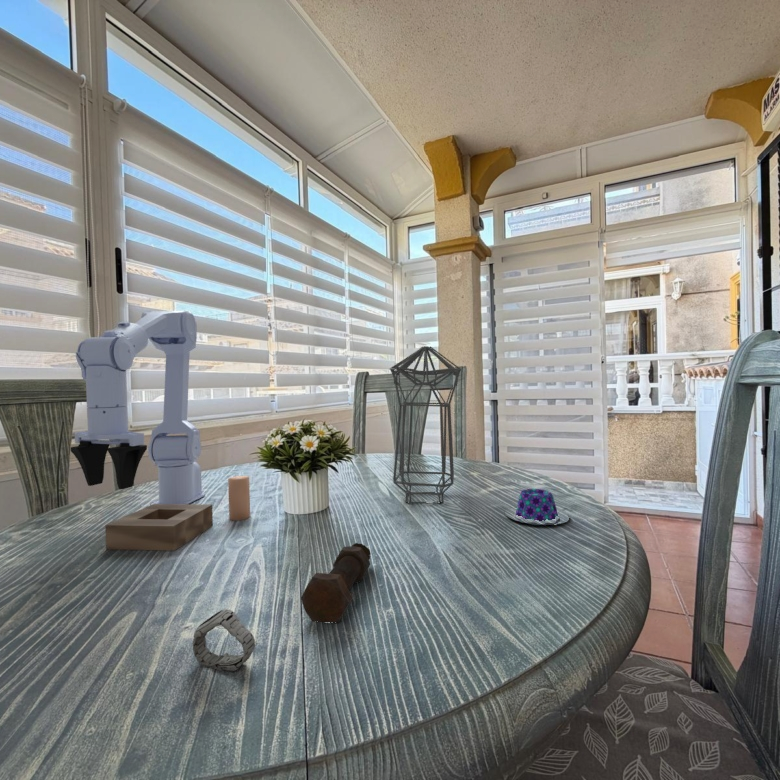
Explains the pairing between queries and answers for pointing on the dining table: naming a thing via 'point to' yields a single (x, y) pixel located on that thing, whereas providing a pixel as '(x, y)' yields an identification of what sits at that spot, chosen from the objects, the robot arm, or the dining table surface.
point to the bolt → (336, 585)
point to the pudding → (536, 505)
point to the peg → (239, 498)
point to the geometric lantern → (404, 366)
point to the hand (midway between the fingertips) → (110, 486)
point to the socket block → (159, 527)
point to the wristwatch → (235, 629)
